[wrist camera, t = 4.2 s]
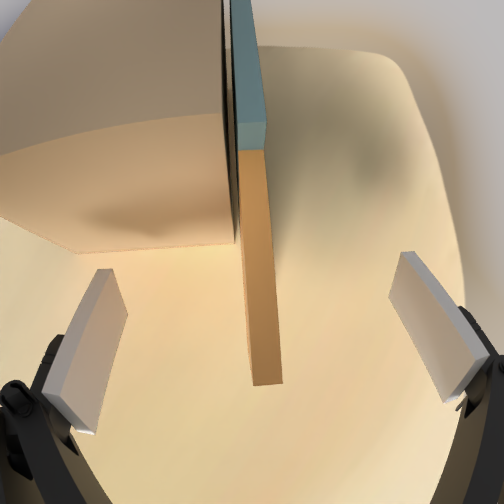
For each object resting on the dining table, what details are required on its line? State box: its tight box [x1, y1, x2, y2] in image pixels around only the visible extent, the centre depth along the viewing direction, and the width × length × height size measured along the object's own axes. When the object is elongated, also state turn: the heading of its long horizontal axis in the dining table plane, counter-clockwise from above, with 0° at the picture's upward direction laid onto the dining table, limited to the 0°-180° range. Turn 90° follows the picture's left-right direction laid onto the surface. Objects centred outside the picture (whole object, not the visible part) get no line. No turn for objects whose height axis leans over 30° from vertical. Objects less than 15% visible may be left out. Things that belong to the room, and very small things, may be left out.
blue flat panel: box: [230, 0, 283, 386], centre depth 15 cm, size 1×21×12 cm, turn 4°
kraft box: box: [0, 0, 235, 254], centre depth 15 cm, size 12×14×14 cm
